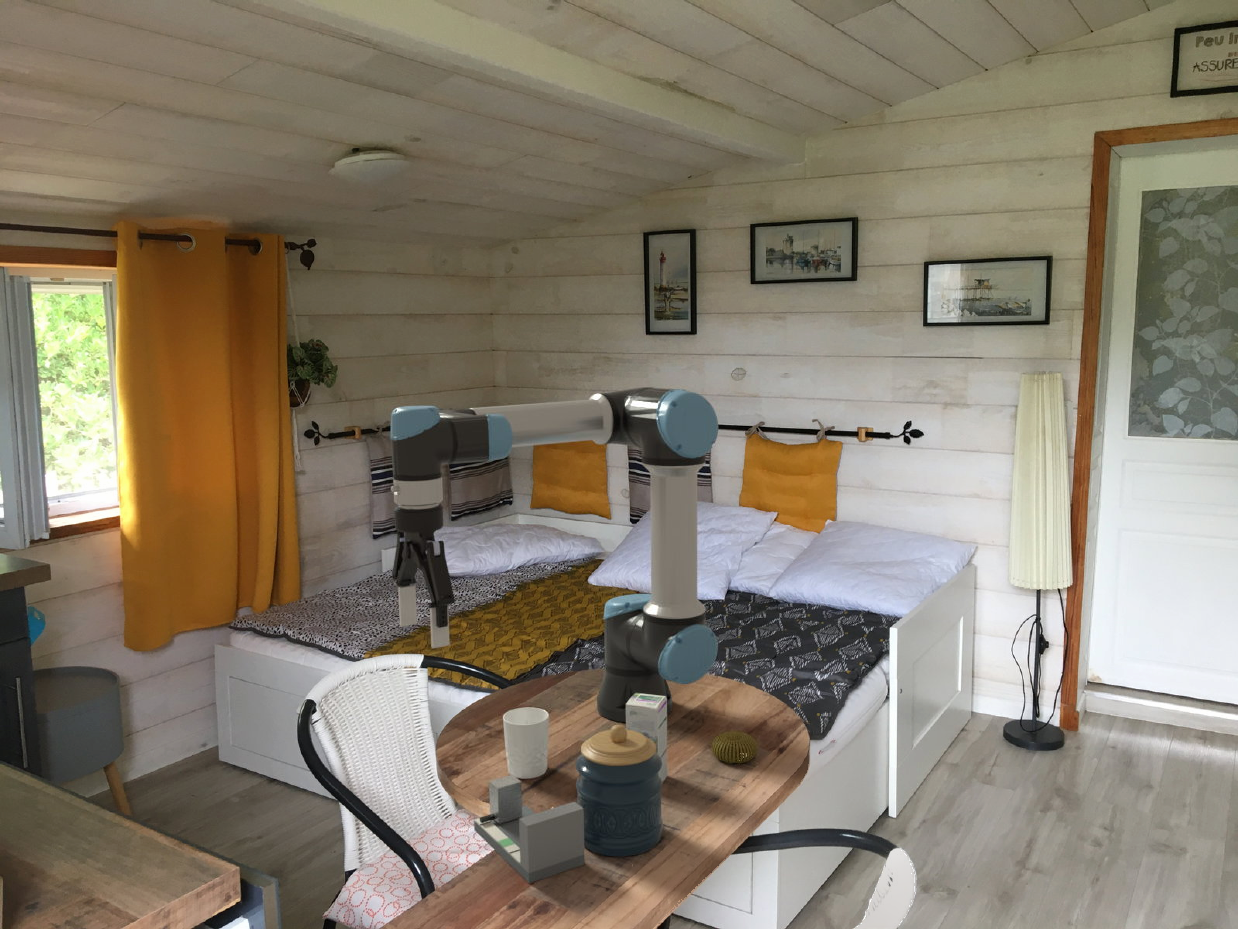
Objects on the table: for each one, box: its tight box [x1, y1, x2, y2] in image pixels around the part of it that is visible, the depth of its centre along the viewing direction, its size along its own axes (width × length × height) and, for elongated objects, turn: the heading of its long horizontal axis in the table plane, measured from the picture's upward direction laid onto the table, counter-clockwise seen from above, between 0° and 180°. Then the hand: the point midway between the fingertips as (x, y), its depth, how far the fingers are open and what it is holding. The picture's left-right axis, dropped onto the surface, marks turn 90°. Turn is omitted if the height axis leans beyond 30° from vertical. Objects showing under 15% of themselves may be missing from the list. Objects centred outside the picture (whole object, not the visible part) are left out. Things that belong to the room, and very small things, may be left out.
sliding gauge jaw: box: [479, 774, 523, 824], centre depth 156 cm, size 3×6×6 cm, turn 123°
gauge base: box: [473, 801, 586, 884], centre depth 151 cm, size 18×9×8 cm, turn 33°
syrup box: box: [625, 693, 669, 784], centre depth 172 cm, size 6×6×14 cm
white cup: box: [502, 706, 550, 780], centre depth 176 cm, size 8×8×10 cm
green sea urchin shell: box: [711, 730, 757, 764], centre depth 181 cm, size 8×4×8 cm
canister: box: [575, 724, 664, 857], centre depth 153 cm, size 13×13×18 cm
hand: (423, 635), depth 163 cm, fingers open, 13 cm apart
